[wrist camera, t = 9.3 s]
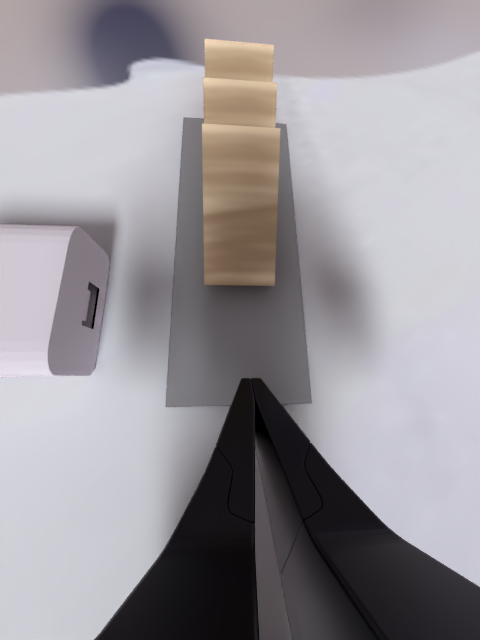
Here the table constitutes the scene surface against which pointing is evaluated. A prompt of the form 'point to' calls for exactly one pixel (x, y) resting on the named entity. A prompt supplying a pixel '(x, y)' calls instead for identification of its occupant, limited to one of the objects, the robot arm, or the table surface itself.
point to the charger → (50, 300)
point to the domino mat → (233, 304)
